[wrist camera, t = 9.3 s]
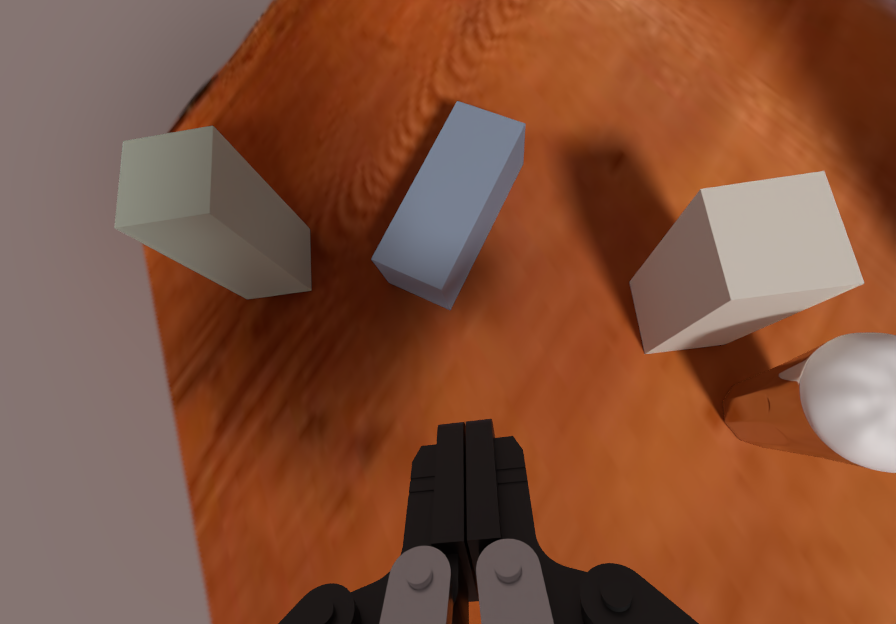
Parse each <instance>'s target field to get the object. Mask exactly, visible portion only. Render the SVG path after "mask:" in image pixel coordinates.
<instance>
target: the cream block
mask: <svg viewBox="0 0 896 624" xmlns="http://www.w3.org/2000/svg"><path fill="white" fill-rule="evenodd" d="M629 283H630V287H631V292H632V297H633V301H634V306H635V311H636V315H637V320H638V324H639V329H640V334H641V338H642V343H643V348H644V352H645V354H650V353H658V352H667V351H675V350H684V349H692V348H701V347H709V346H718V345H725V344H727V343H730V342H732V341H734V340H736V339H739V338H741V337H743V336H746V335H748V334H750V333H752V332H755V331H757V330H759V329H762V328H764V327H766V326H768V325H771V324H773V323H775V322H777V321H780V320H782V319H784V318H787V317H789V316H791V315H793V314H796V313H798V312H800V311H803V310H805V309H807V308H809V307H812V306H814V305H816V304H818V303H821V302H823V301H825V300H828V299H830V298H832V297H834V296H837V295H839V294H841V293H844V292H846V291H848V290H850V289H853V288H855V287H857V286H859V285H862V284H864V281H863V278H862V275H861V272H860V270H859V267H858V264H857V261H856V258H855V256H854V253H853V250H852V247H851V244H850V242H849V239H848V236H847V233H846V230H845V228H844V225H843V222H842V219H841V216H840V214H839V211H838V208H837V205H836V203H835V200H834V197H833V194H832V191H831V189H830V186H829V183H828V180H827V177H826V175H825V172H824V171H821V172H814V173H807V174H800V175H794V176H787V177H780V178H773V179H766V180H760V181H753V182H746V183H739V184H732V185H726V186H719V187H712V188H705V189H700V191H699V192H698V193H697V194H696V196H695V197H694V198H693V200H692V201H691V202H690V204H689V205H688V206H687V208H686V209H685V210H684V211H683V213H682V214H681V215H680V217H679V218H678V219H677V221H676V222H675V223H674V224H673V226H672V227H671V228H670V230H669V231H668V232H667V234H666V235H665V236H664V237H663V239H662V240H661V241H660V243H659V244H658V245H657V247H656V248H655V249H654V251H653V252H652V253H651V254H650V256H649V257H648V258H647V260H646V261H645V262H644V264H643V265H642V266H641V267H640V269H639V270H638V271H637V273H636V274H635V275H634V277H633V278H632V279H631V280H630V282H629Z"/></svg>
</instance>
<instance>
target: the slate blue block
mask: <svg viewBox="0 0 896 624" xmlns="http://www.w3.org/2000/svg"><path fill="white" fill-rule="evenodd" d="M524 140H525V123H522V122H519V121H516V120H513V119H510V118H507V117H504V116H501V115H498V114H495V113H492V112H489V111H486V110H483V109H480V108H477V107H474V106H471V105H468V104H465V103H462V102H459V101H457V102H456V104H455V106H454V108H453V109H452V111H451V113H450V115H449V117H448V119H447V121H446V122H445V124H444V126H443V128H442V130H441V132H440V133H439V135H438V137H437V139H436V141H435V143H434V144H433V146H432V148H431V150H430V152H429V154H428V155H427V157H426V159H425V161H424V163H423V165H422V166H421V168H420V170H419V172H418V174H417V176H416V177H415V179H414V181H413V183H412V185H411V187H410V188H409V190H408V192H407V194H406V196H405V198H404V199H403V201H402V203H401V205H400V207H399V209H398V211H397V212H396V214H395V216H394V218H393V220H392V222H391V223H390V225H389V227H388V229H387V231H386V233H385V234H384V236H383V238H382V240H381V242H380V244H379V245H378V247H377V249H376V251H375V253H374V255H373V256H372V258H371V260H372V261H373V262H374V264H375V265H376V266H377V268H378V269H379V270H380V272H381V273H382V274H383V276H384V277H385V278H386V280H387V281H388V282H389V283H390V284H392V285H395V286H397V287H399V288H401V289H404V290H406V291H408V292H410V293H413V294H415V295H417V296H419V297H422V298H424V299H426V300H428V301H431V302H433V303H435V304H437V305H440V306H442V307H444V308H446V309H449V310H451V308H452V306H453V304H454V302H455V300H456V298H457V296H458V294H459V292H460V290H461V288H462V286H463V284H464V282H465V280H466V278H467V276H468V274H469V272H470V270H471V268H472V266H473V264H474V262H475V260H476V258H477V256H478V254H479V252H480V250H481V248H482V246H483V244H484V242H485V240H486V238H487V236H488V234H489V232H490V230H491V228H492V225H493V223H494V221H495V219H496V217H497V215H498V213H499V211H500V209H501V207H502V205H503V203H504V201H505V199H506V197H507V195H508V193H509V191H510V189H511V187H512V185H513V183H514V181H515V179H516V177H517V175H518V173H519V171H520V169H521V167H522V165H523V158H524Z"/></svg>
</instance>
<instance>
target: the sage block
mask: <svg viewBox="0 0 896 624" xmlns="http://www.w3.org/2000/svg"><path fill="white" fill-rule="evenodd" d="M115 229H117V230H119V231H121V232H123V233H124V234H126V235H128V236H130V237H132V238H134V239H136V240H137V241H139V242H141V243H143V244H145V245H147V246H149V247H150V248H152V249H154V250H156V251H158V252H160V253H162V254H163V255H165V256H167V257H169V258H171V259H173V260H175V261H176V262H178V263H180V264H182V265H184V266H186V267H188V268H190V269H191V270H193V271H195V272H197V273H199V274H201V275H203V276H204V277H206V278H208V279H210V280H212V281H214V282H216V283H217V284H219V285H221V286H223V287H225V288H227V289H229V290H230V291H232V292H234V293H236V294H238V295H240V296H242V297H243V298H245V299H255V298H262V297H269V296H277V295H284V294H291V293H298V292H306V291H312V287H311V245H310V228H309V227H308V226H307V225H306V224H305V223H304V222H303V221H302V220H301V219H300V218H299V217H298V216H297V214H296V213H295V212H294V211H293V210H292V209H291V208H290V207H289V206H288V205H287V204H286V203H285V202H284V201H283V200H282V199H281V197H280V196H279V195H278V194H277V193H276V192H275V191H274V190H273V189H272V188H271V187H270V186H269V185H268V184H267V183H266V181H265V180H264V179H263V178H262V177H261V176H260V175H259V174H258V173H257V172H256V171H255V170H254V169H253V168H252V167H251V165H250V164H249V163H248V162H247V161H246V160H245V159H244V158H243V157H242V156H241V155H240V154H239V153H238V152H237V151H236V150H235V148H234V147H233V146H232V145H231V144H230V143H229V142H228V141H227V140H226V139H225V138H224V137H223V136H222V135H221V134H220V132H219V131H218V130H217V129H216V128H215V127H214V126H208V127H202V128H197V129H191V130H185V131H179V132H173V133H168V134H162V135H156V136H150V137H145V138H139V139H133V140H127V141H123V146H122V156H121V167H120V177H119V187H118V198H117V207H116V218H115Z"/></svg>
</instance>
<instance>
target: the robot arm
mask: <svg viewBox="0 0 896 624" xmlns="http://www.w3.org/2000/svg"><path fill="white" fill-rule="evenodd" d="M472 601H479V604H480V613H481V623H482V624H699V623H697V622H696V621H695V620H694V619H692V618H691V617H690V616H689V615H688V614H686V613H685V612H684V611H683V610H681V609H680V608H679V607H678V606H677V605H675V604H674V603H673V602H672V601H670V600H669V599H668V598H667V597H666V596H664V595H663V594H662V593H661V592H659V591H658V590H657V589H656V588H655V587H653V586H652V585H651V584H650V583H648V582H647V581H646V580H645V579H644V578H642V577H641V576H640V575H639V574H637V573H636V572H635V571H633V570H632V569H630V568H628V567H626V566H623V565H619V564H614V563H606V564H601V565H598V566H595V567H594V568H592V569H591V570H589V571H588V572H584V571H580V570H577V569H573V568H569V567H565V566H562V565H560V564H558V563H556V562H555V561H553V560H552V559H550V558H549V557H548V556H547V555H546V554H545V553H544V552H543V551H542V549H541V548H540V546H539V544H538V542H537V539H536V535H535V528H534V521H533V515H532V508H531V501H530V495H529V488H528V481H527V475H526V468H525V461H524V454H523V449H522V448H521V447H520V445H519V444H518V442H517V441H516V440H515V438H514V437H513V436H509V437H500V438H495V434H494V428H493V422H492V419H485V420H477V421H468V422H466V426H465V423H464V422H460V423H451V424H442V425H438V430H437V444H436V445H427V446H421V448H420V450H419V451H418V453H417V455H416V456H415V458H414V460H413V462H412V470H411V482H410V488H409V497H408V506H407V515H406V523H405V532H404V541H403V548H402V552H401V555H400V557H399V558H398V559H397V560H396V561H395V563H394V564H393V566H392V569H391V571H390V572H389V573H388V574H387V575H385V576H384V577H383V578H381V579H380V580H378V581H376V582H374V583H372V584H369V585H367V586H365V587H362V588H360V589H358V590H355V591H353V592H351V593H350V592H349V590H348V589H347V588H345V587H344V586H342V585H339V584H325V585H321V586H319V587H317V588H315V589H313V590H312V591H310V592H309V593H308V594H306V595H305V596H304V597H303V598H302V599H301V600H300V601H299V602H298V604H297V605H296V606H295V607H294V608H293V609H292V610H291V611H290V612H289V613H288V614H287V615H286V616H285V617H284V618H283V619H282V620H281V621H280V622H279V623H278V624H469V602H472Z"/></svg>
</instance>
